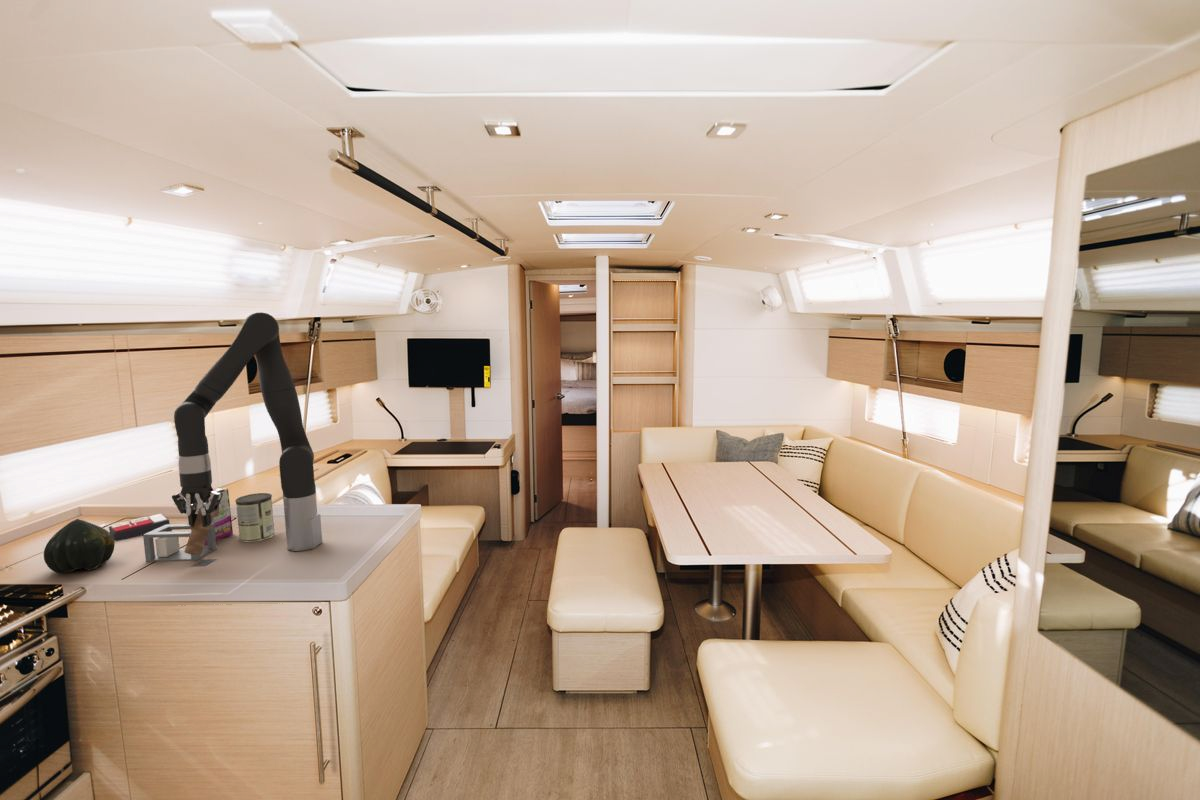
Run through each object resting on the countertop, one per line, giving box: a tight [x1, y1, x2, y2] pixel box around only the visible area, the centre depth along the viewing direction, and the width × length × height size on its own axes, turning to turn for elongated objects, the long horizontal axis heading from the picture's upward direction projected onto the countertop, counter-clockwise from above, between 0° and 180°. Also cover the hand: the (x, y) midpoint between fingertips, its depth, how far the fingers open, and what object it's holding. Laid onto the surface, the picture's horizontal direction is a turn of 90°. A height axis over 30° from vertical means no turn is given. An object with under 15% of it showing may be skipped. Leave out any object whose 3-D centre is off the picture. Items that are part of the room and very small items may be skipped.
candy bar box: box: [190, 487, 234, 546], centre depth 180 cm, size 11×5×16 cm, turn 168°
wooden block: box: [184, 508, 215, 555], centre depth 160 cm, size 3×3×14 cm
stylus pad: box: [191, 558, 218, 567], centre depth 161 cm, size 4×5×1 cm
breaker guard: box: [142, 523, 218, 563], centre depth 166 cm, size 15×9×9 cm, turn 92°
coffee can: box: [235, 492, 276, 543], centre depth 182 cm, size 10×10×14 cm
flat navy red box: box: [108, 513, 171, 542], centre depth 190 cm, size 11×4×15 cm
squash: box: [43, 518, 116, 574], centre depth 159 cm, size 14×15×15 cm
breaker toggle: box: [154, 537, 181, 557], centre depth 166 cm, size 3×5×7 cm, turn 2°
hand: (200, 526), depth 160 cm, fingers closed on wooden block, 3 cm apart
